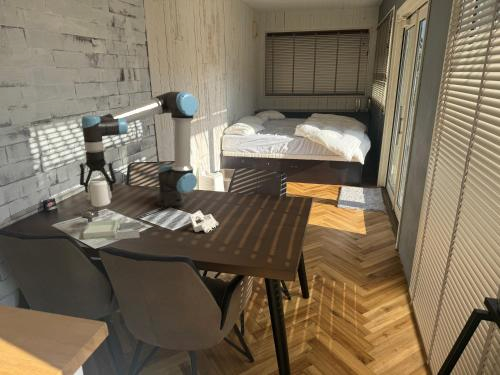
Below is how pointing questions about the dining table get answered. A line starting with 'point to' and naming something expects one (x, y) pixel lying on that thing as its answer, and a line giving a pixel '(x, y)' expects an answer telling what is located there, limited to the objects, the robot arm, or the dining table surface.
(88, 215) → the idler pulley
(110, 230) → the parts tray
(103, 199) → the white jar
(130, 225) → the tensioner cradle
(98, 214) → the mechanical component
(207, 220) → the mounting bracket
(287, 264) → the dining table surface
